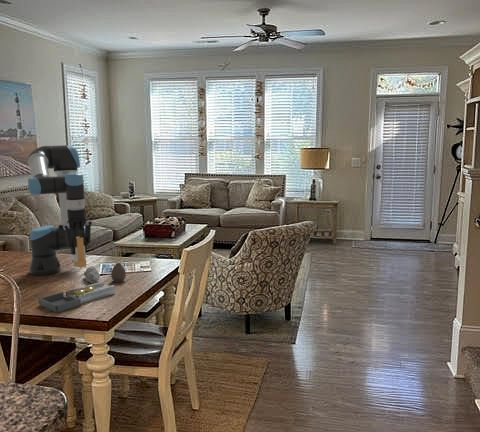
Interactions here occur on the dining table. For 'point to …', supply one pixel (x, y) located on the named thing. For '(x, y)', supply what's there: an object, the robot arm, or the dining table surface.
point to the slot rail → (92, 292)
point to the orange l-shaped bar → (80, 253)
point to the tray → (59, 302)
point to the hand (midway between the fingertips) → (79, 260)
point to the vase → (118, 273)
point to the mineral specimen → (91, 274)
